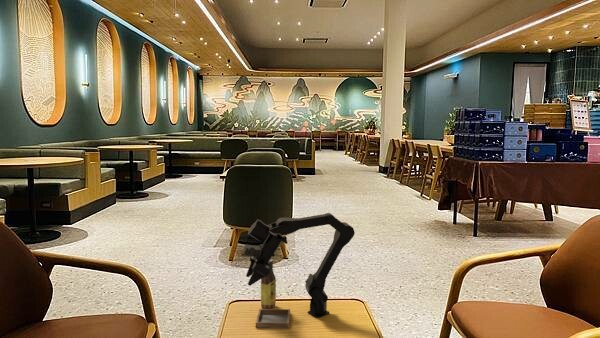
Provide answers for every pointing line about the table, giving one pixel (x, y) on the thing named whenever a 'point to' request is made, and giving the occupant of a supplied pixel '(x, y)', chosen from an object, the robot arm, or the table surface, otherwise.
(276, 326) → the walnut frame
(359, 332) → the table surface
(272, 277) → the sauce bottle
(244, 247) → the robot arm
